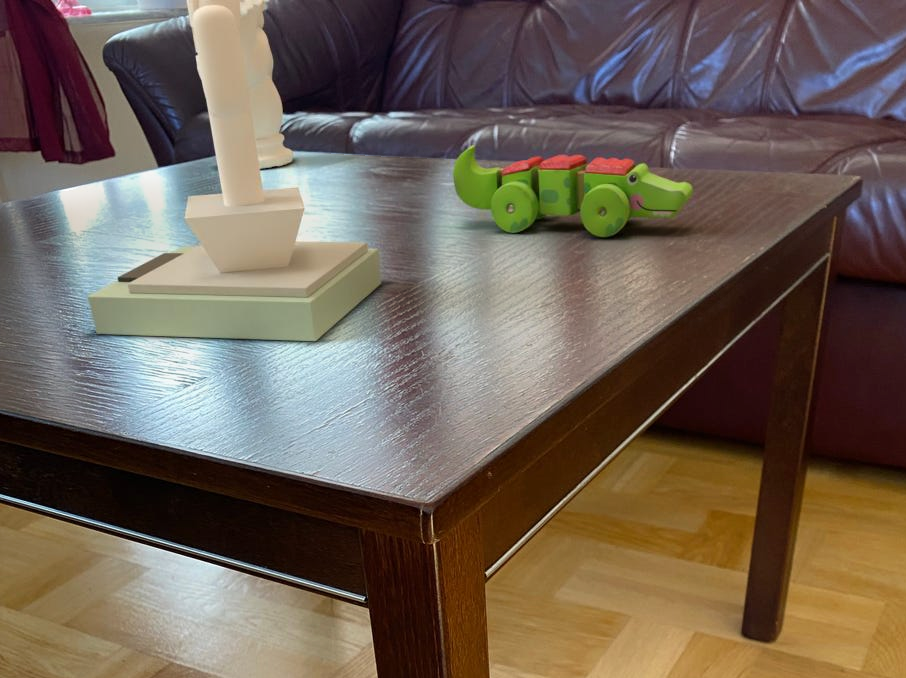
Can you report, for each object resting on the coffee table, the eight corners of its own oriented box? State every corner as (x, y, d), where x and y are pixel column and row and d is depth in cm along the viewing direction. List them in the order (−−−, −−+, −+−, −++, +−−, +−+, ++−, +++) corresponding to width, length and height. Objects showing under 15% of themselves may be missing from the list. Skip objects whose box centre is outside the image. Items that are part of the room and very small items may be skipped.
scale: (96, 334, 65) (84, 286, 63) (189, 279, 76) (181, 237, 74) (315, 341, 62) (309, 291, 60) (381, 283, 72) (377, 239, 71)
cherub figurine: (264, 154, 124) (232, -66, 111) (340, 160, 118) (315, -72, 105) (188, 171, 116) (143, -64, 103) (265, 179, 110) (228, -70, 97)
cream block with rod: (304, 240, 71) (271, -14, 63) (313, 274, 64) (277, -11, 55) (199, 250, 70) (151, -8, 62) (195, 285, 62) (140, -4, 54)
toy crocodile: (697, 223, 83) (703, 142, 80) (676, 243, 78) (681, 156, 75) (477, 213, 90) (474, 138, 87) (445, 230, 85) (440, 151, 82)
